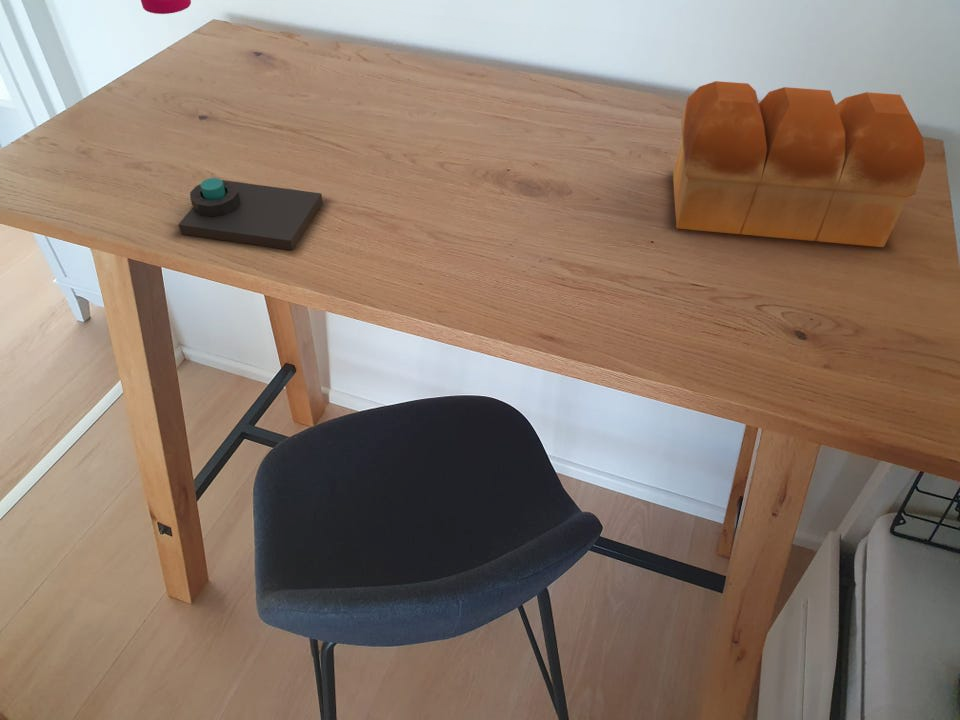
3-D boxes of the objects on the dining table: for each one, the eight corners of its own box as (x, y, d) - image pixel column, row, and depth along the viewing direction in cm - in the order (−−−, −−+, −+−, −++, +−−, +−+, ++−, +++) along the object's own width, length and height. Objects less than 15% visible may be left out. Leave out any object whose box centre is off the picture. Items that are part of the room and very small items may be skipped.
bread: (673, 229, 92) (699, 115, 82) (669, 174, 101) (693, 64, 90) (888, 249, 90) (943, 134, 79) (865, 190, 99) (913, 80, 88)
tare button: (199, 199, 91) (196, 188, 90) (209, 187, 93) (206, 176, 92) (219, 202, 91) (216, 191, 90) (229, 190, 93) (226, 179, 91)
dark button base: (179, 233, 91) (172, 212, 89) (217, 188, 98) (211, 167, 95) (292, 250, 89) (288, 229, 86) (323, 202, 96) (319, 181, 93)
